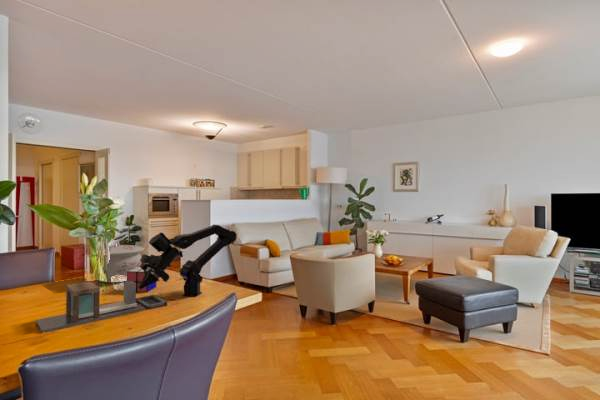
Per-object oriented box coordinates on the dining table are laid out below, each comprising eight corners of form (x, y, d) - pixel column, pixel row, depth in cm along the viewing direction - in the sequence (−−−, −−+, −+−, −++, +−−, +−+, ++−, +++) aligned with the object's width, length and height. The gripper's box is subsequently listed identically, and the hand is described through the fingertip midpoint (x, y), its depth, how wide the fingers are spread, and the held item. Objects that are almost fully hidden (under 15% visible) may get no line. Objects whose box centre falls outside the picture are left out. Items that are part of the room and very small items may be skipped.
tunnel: (90, 309, 131) (90, 281, 131) (99, 317, 123) (99, 287, 123) (66, 314, 125) (66, 285, 125) (73, 322, 117) (73, 291, 117)
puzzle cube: (147, 292, 158) (147, 271, 158) (126, 292, 158) (126, 271, 158) (156, 287, 168) (156, 267, 168) (137, 286, 168) (137, 267, 168)
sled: (130, 302, 139) (130, 280, 139) (136, 306, 134) (136, 283, 134) (70, 314, 124) (70, 289, 124) (75, 319, 119) (75, 293, 119)
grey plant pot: (131, 272, 200) (131, 237, 199) (154, 279, 182) (154, 242, 182) (77, 280, 178) (77, 242, 178) (97, 290, 160) (97, 247, 160)
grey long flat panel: (132, 302, 143) (132, 300, 143) (144, 310, 134) (144, 307, 134) (35, 322, 119) (35, 319, 119) (41, 333, 110) (41, 330, 110)
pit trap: (153, 298, 150) (153, 294, 150) (167, 305, 140) (167, 301, 140) (135, 301, 144) (135, 298, 144) (147, 309, 134) (147, 306, 134)
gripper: (144, 244, 149) (117, 272, 141) (162, 249, 136) (133, 281, 128) (161, 260, 154) (136, 288, 146) (180, 266, 141) (153, 297, 133)
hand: (139, 288), depth 138 cm, fingers closed
